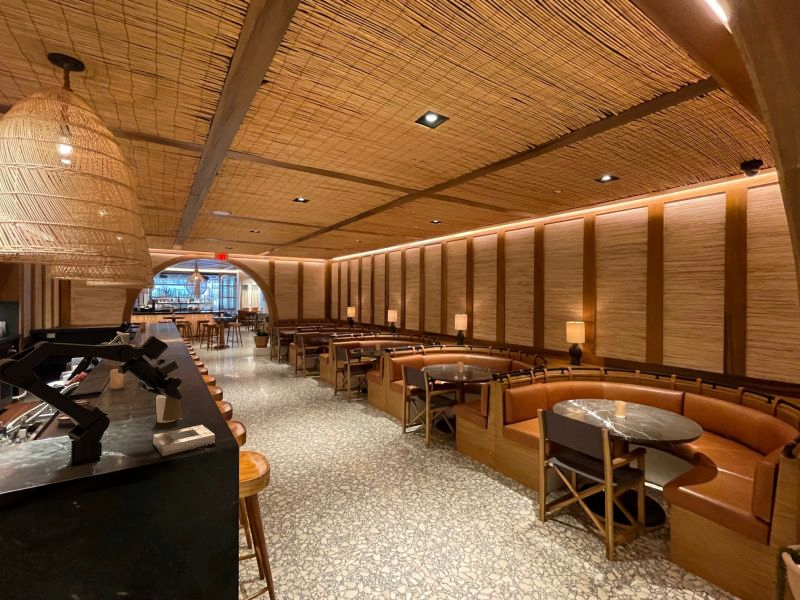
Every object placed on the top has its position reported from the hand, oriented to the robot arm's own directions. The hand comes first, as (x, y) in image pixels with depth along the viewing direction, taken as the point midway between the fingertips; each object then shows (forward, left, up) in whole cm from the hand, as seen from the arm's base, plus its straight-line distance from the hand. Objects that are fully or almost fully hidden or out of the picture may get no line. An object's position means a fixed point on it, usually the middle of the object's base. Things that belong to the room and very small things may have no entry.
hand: (176, 397), depth 131 cm
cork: (-1, 0, -7) cm, 7 cm away
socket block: (0, -12, -13) cm, 18 cm away
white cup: (+2, +21, -14) cm, 25 cm away
